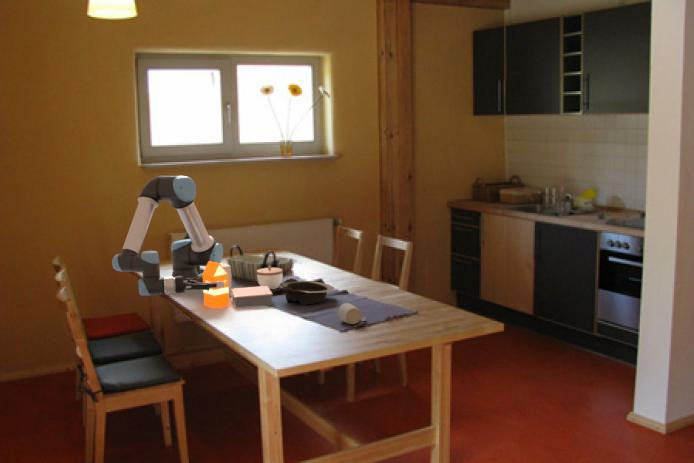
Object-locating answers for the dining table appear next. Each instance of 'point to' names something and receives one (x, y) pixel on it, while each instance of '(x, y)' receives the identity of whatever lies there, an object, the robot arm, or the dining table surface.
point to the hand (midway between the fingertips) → (222, 281)
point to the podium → (252, 296)
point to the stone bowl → (306, 291)
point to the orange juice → (216, 295)
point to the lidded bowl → (270, 277)
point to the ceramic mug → (350, 314)
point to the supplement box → (228, 271)
